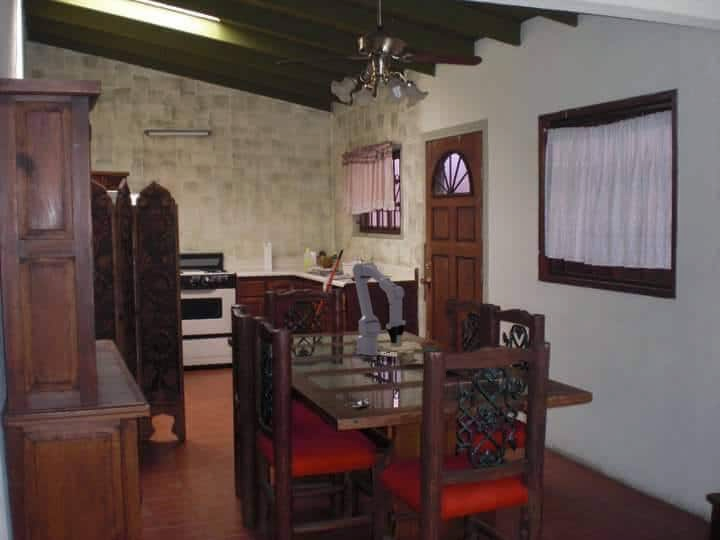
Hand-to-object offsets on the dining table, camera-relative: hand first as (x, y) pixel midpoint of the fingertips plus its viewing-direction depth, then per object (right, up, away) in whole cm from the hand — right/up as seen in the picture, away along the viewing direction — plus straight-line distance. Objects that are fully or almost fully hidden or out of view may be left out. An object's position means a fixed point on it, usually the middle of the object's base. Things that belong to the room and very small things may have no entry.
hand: (396, 342), depth 360 cm
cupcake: (+16, -7, +14) cm, 23 cm away
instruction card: (-2, -7, +15) cm, 17 cm away
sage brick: (0, -2, 0) cm, 2 cm away
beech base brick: (+4, -8, +3) cm, 10 cm away
